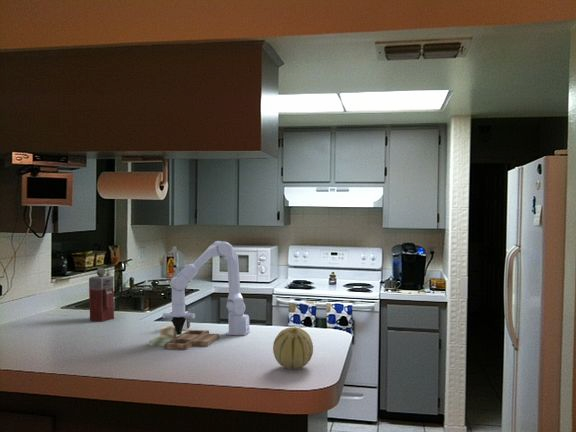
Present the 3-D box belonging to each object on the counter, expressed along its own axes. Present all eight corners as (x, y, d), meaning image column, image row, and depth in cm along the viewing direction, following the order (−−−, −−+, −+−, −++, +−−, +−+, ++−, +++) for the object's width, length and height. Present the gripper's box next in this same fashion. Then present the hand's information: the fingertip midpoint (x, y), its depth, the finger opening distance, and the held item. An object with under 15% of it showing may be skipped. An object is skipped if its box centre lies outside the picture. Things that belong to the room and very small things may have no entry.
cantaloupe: (297, 359, 197) (296, 320, 197) (322, 368, 185) (321, 326, 185) (264, 367, 188) (264, 326, 188) (289, 377, 176) (288, 333, 176)
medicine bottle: (187, 330, 251) (186, 305, 251) (172, 330, 251) (172, 305, 251) (190, 327, 258) (189, 303, 258) (176, 327, 258) (175, 303, 258)
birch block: (178, 334, 233) (178, 326, 233) (173, 338, 227) (173, 329, 227) (166, 334, 235) (166, 325, 234) (160, 337, 229) (160, 328, 229)
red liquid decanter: (106, 322, 275) (104, 269, 274) (89, 320, 279) (88, 268, 279) (117, 318, 283) (116, 267, 283) (101, 317, 287) (100, 266, 287)
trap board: (223, 335, 240) (223, 330, 240) (202, 350, 214) (202, 345, 214) (171, 333, 245) (170, 329, 245) (144, 348, 219) (144, 343, 219)
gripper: (159, 305, 228) (160, 335, 228) (190, 305, 225) (191, 336, 225) (166, 302, 234) (167, 332, 235) (196, 302, 231) (197, 333, 232)
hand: (179, 334), depth 230 cm, fingers closed
